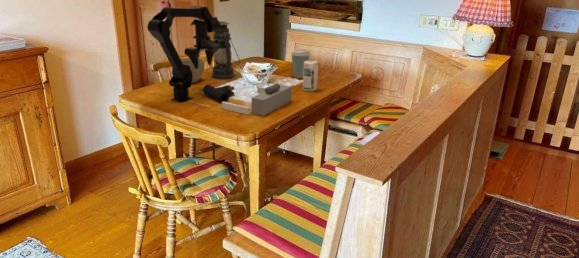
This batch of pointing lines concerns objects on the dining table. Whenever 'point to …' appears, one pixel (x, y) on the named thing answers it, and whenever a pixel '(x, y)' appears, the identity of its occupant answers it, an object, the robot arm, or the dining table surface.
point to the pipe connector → (219, 92)
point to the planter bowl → (196, 72)
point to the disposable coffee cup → (299, 61)
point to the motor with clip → (264, 100)
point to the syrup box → (310, 75)
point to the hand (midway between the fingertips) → (203, 66)
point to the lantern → (223, 54)
